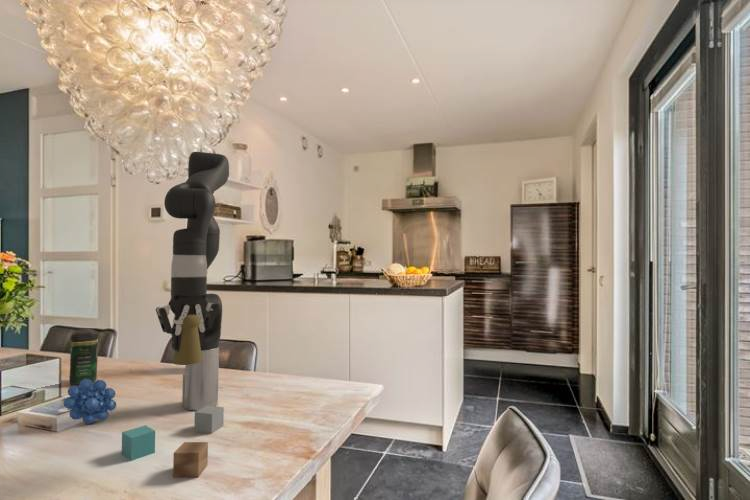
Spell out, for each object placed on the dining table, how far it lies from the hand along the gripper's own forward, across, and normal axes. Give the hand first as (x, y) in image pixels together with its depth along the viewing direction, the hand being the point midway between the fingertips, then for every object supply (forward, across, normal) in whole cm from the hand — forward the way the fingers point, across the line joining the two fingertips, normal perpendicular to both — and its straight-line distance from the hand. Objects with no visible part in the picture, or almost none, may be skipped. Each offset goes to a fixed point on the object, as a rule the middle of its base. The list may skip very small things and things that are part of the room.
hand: (187, 349), depth 96 cm
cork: (+3, 0, 0) cm, 3 cm away
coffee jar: (+24, +3, -78) cm, 82 cm away
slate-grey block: (+23, -10, -9) cm, 27 cm away
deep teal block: (+23, +8, -7) cm, 25 cm away
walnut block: (+23, +3, +10) cm, 25 cm away
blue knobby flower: (+23, +11, -33) cm, 42 cm away
